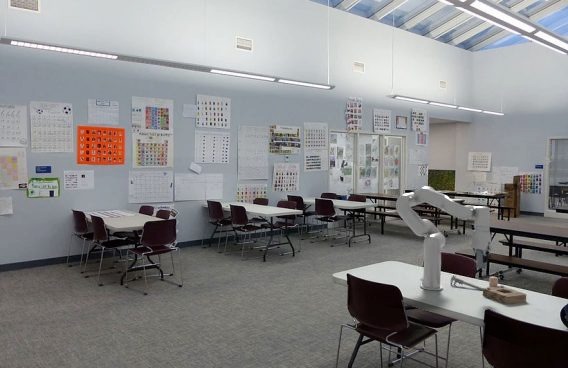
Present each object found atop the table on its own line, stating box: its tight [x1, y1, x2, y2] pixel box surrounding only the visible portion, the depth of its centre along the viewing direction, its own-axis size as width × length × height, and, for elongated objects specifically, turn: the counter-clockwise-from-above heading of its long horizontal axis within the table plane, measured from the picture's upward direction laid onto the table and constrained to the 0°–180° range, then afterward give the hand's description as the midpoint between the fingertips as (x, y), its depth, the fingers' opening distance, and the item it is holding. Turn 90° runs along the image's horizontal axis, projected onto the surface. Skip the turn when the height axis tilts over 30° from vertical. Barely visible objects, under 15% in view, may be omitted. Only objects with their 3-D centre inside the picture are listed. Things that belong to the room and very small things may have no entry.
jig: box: [482, 285, 527, 305], centre depth 238 cm, size 16×14×5 cm
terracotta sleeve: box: [488, 276, 499, 287], centre depth 251 cm, size 4×4×8 cm
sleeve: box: [476, 249, 487, 269], centre depth 240 cm, size 5×5×10 cm
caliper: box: [450, 274, 484, 292], centre depth 257 cm, size 20×1×6 cm, turn 51°
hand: (481, 261), depth 240 cm, fingers closed on sleeve, 5 cm apart
